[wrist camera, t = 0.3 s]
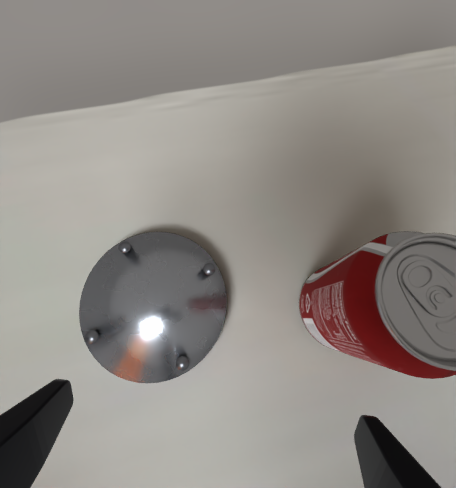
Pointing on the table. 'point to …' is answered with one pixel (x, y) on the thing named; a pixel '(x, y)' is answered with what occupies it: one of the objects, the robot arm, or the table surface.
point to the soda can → (389, 303)
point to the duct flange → (152, 307)
